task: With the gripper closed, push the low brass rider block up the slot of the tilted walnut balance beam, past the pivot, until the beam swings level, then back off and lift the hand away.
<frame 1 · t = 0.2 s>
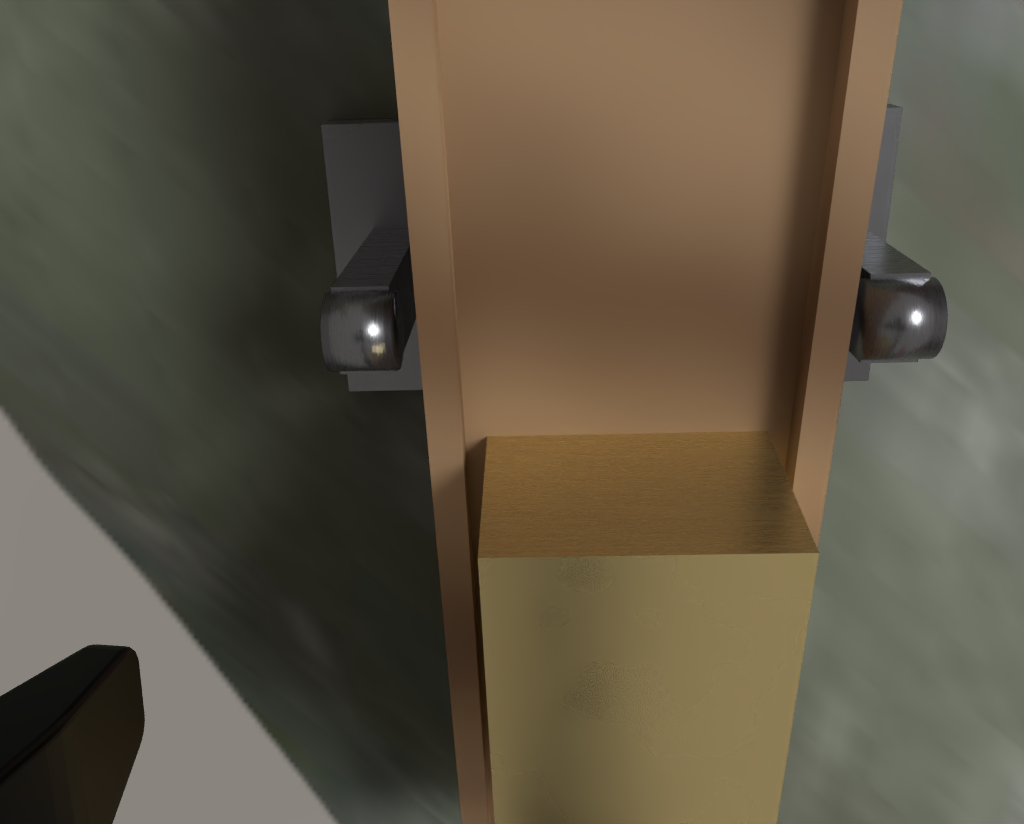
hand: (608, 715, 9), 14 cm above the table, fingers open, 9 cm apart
balance beam: (633, 356, 15), point 7 cm above the table, hinge at -6.3°, touching brass rider
brass rider: (621, 605, 19), point 5 cm above the table, tilted 6°, touching balance beam
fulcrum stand: (605, 250, 22), on the table
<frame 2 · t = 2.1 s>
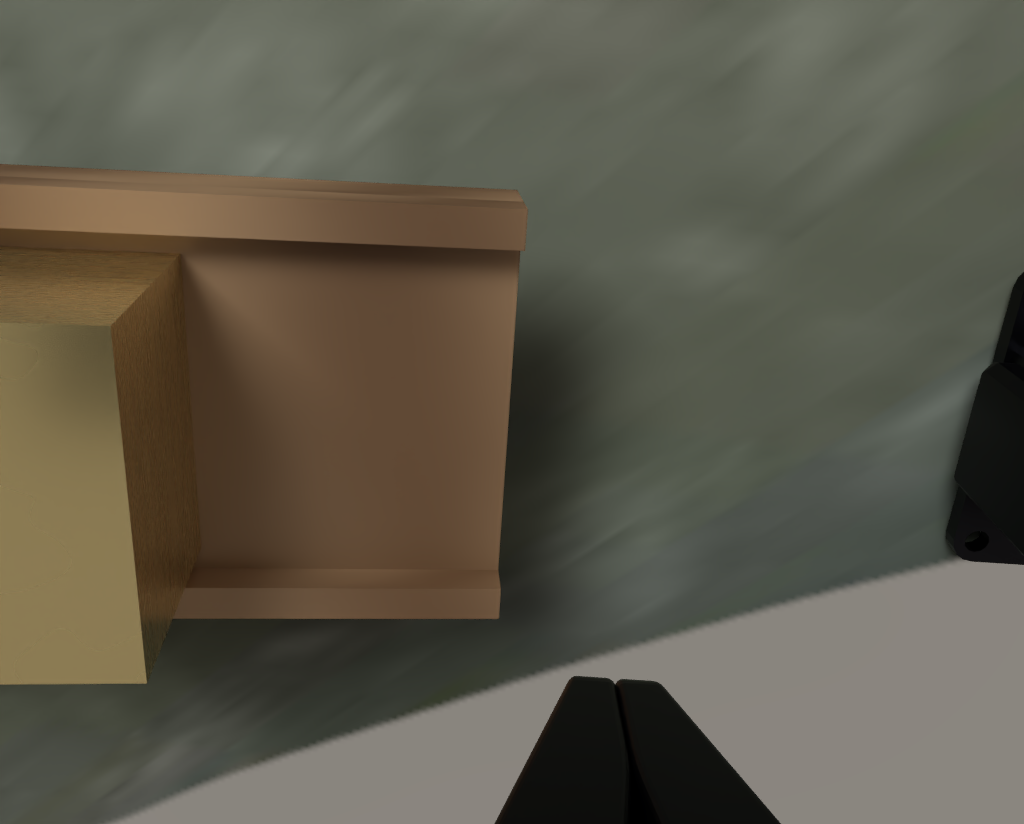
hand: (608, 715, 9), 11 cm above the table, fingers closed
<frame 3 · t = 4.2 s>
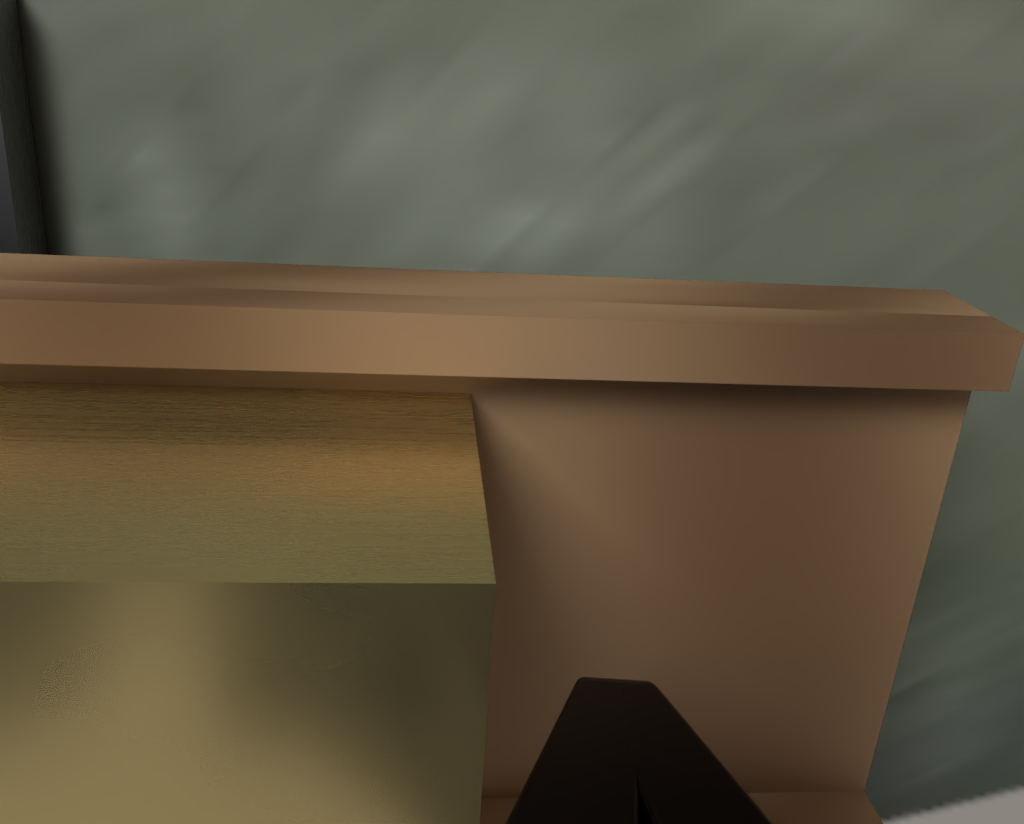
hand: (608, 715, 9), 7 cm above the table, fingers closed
brass rider: (86, 600, 10), point 5 cm above the table, tilted 6°, touching gripper
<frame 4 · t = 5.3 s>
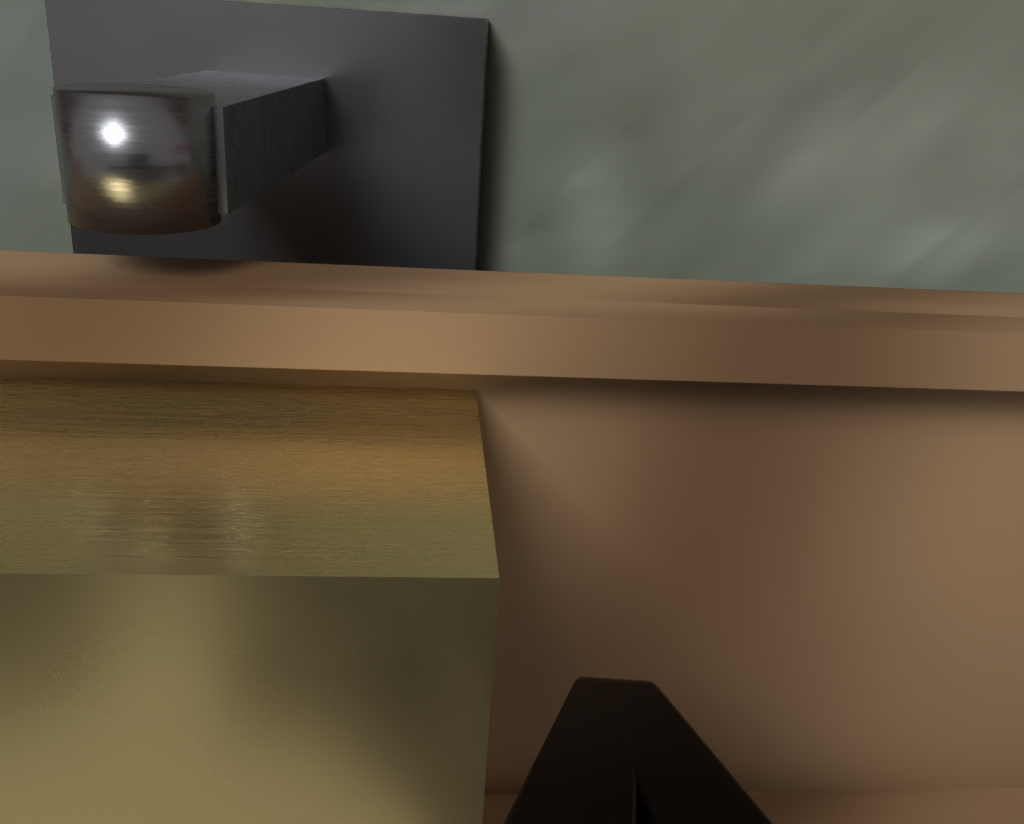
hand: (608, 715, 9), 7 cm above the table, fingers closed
balance beam: (146, 636, 10), point 7 cm above the table, hinge at -6.0°, touching brass rider
brass rider: (94, 594, 10), point 6 cm above the table, tilted 6°, touching balance beam, gripper
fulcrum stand: (290, 393, 16), on the table
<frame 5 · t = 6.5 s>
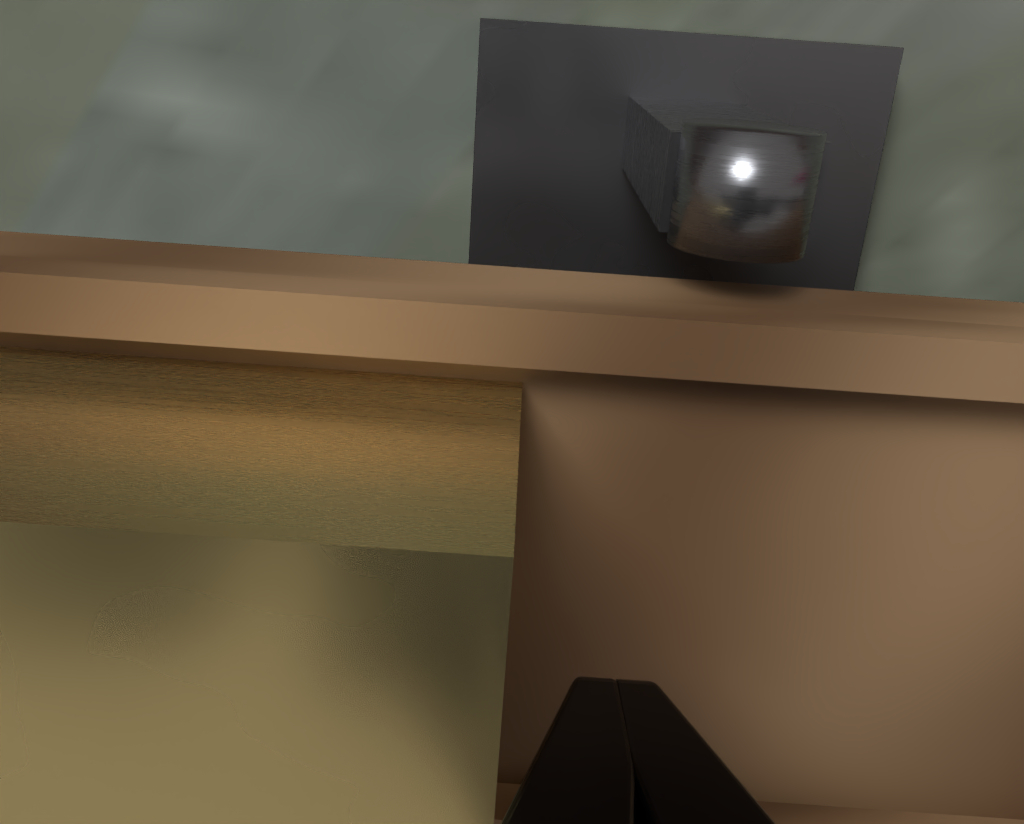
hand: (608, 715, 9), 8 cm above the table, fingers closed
balance beam: (699, 639, 10), point 7 cm above the table, hinge at 0.2°, touching brass rider
brass rider: (160, 561, 11), point 6 cm above the table, touching balance beam, gripper
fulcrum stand: (637, 404, 16), on the table
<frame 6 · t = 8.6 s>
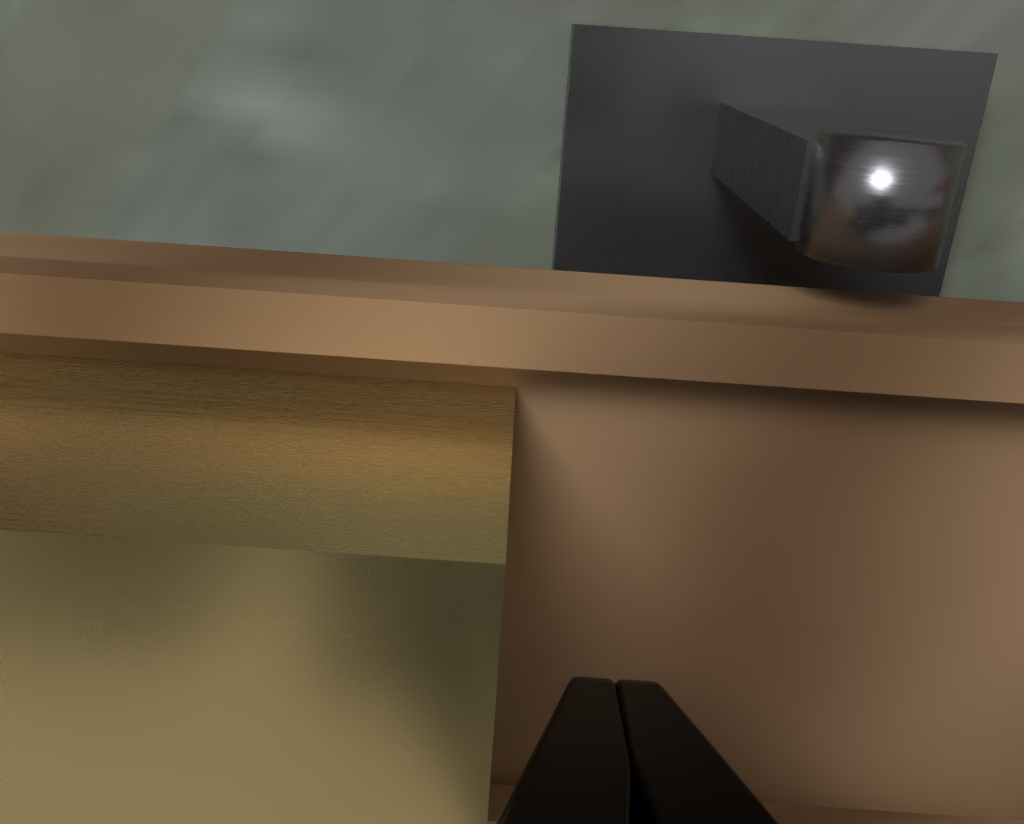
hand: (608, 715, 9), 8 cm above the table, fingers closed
balance beam: (825, 649, 10), point 7 cm above the table, hinge at 0.3°, touching brass rider
brass rider: (153, 566, 11), point 6 cm above the table, touching balance beam, gripper
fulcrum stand: (714, 410, 16), on the table
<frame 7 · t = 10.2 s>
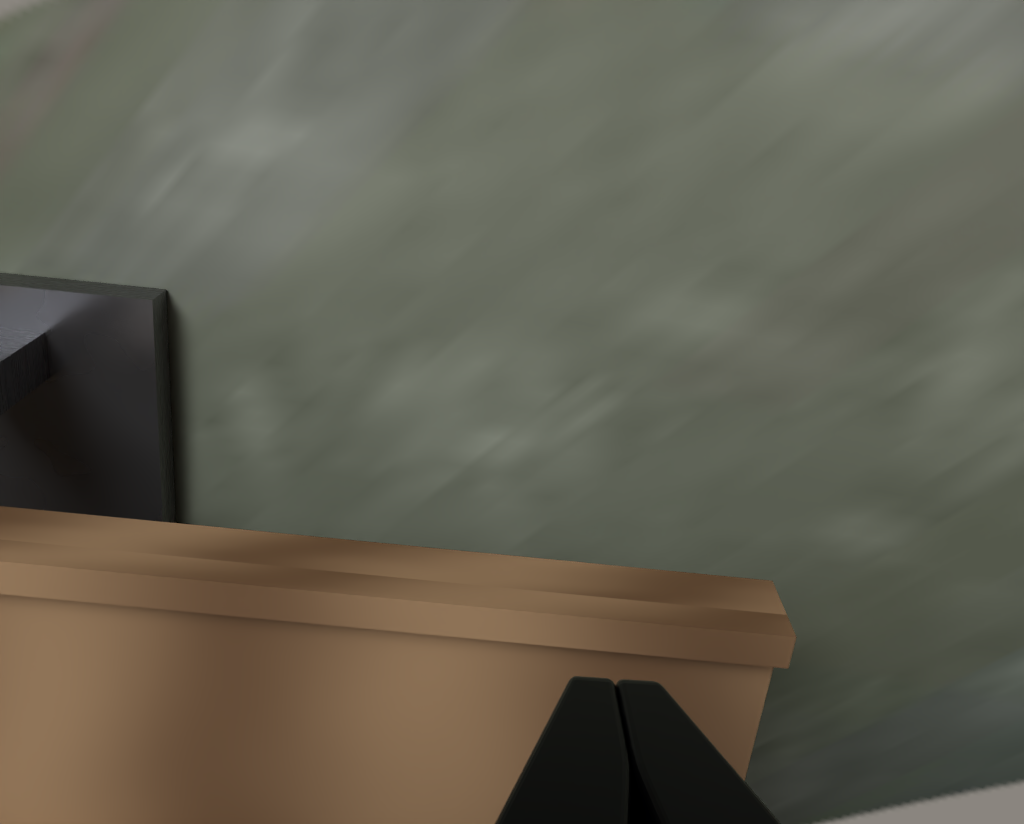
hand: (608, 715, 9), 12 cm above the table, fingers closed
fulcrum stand: (45, 527, 22), on the table
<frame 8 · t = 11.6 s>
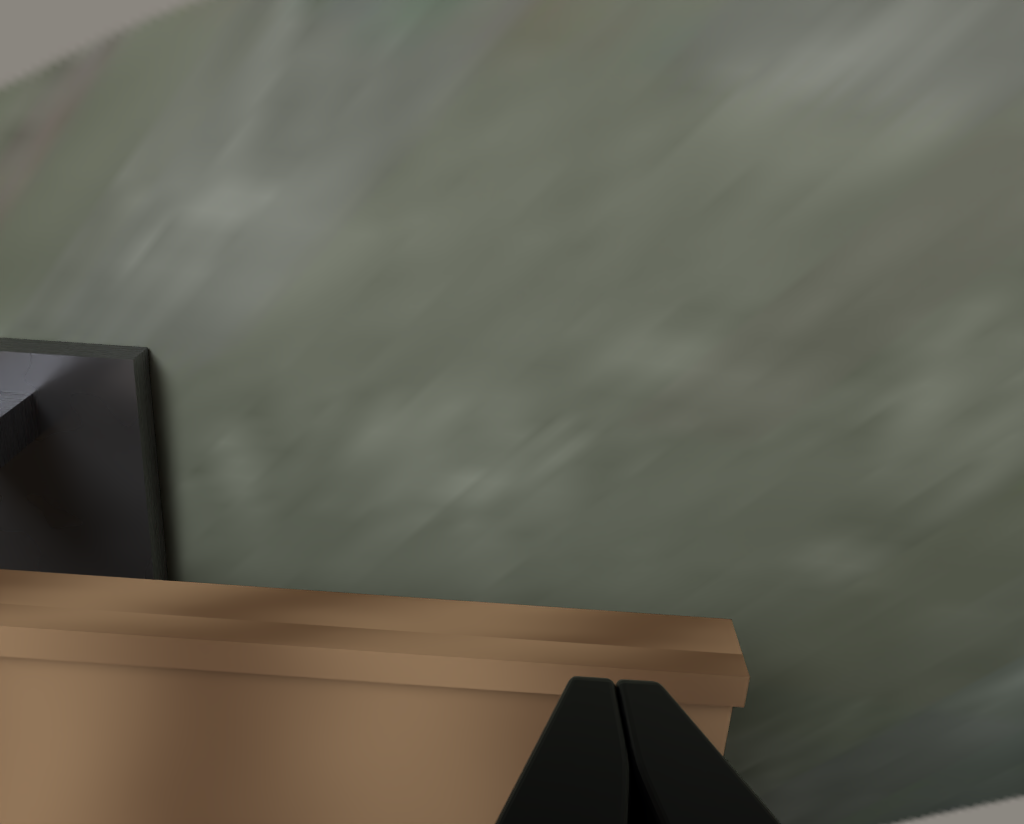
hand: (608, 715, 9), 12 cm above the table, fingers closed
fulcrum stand: (43, 576, 23), on the table
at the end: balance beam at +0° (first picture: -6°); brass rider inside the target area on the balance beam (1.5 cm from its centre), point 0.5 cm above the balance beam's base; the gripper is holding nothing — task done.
